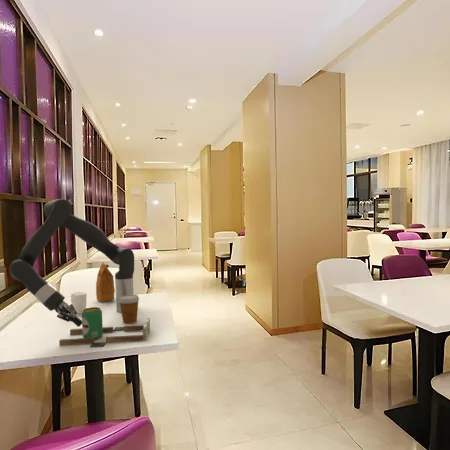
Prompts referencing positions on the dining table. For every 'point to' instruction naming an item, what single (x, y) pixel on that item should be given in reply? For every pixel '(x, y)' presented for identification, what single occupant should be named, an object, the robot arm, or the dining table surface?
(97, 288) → the coffee package
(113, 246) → the robot arm
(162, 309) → the dining table surface
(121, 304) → the disposable coffee cup
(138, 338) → the walnut track
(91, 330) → the beverage can
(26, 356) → the dining table surface
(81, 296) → the white cup
